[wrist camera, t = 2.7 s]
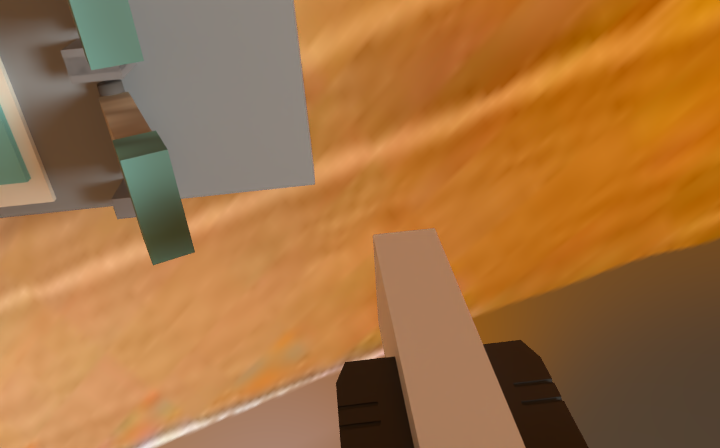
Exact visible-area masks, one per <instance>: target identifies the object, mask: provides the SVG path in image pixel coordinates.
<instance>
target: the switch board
mask: <svg viewBox="0 0 720 448" xmlns="http://www.w3.org/2000/svg"><path fill="white" fill-rule="evenodd" d="M128 2H129V6H130V10H131V13H132V17H133V21H134V25H135V29H136V32H137V36H138V40H139V44H140V47H141V51H142V55H143V59H144V61H141V62H135V63H130V64H124V65H118V66H113V67H107V68H101V69H96V70H91V68H90V66H89V64H88V61H87V59H86V57H85V54H84V50H83V47H82V44H81V41H80V38H79V35H78V32H77V28H76V26H75V24H74V21H73V17H72V14H71V11H70V8H69V5H68V2H67V0H0V218H4V217H14V216H23V215H32V214H42V213H51V212H61V211H70V210H79V209H89V208H98V207H108V206H113V207H114V210H115V213H116V216H117V219H123V218H132V217H136V214H135V211H134V208H133V205H132V201H131V198H130V195H129V192H128V189H127V186H126V183H125V180H124V177H123V174H122V171H121V168H120V165H119V162H118V159H117V156H116V153H115V149H114V146H113V143H112V140H111V137H110V134H109V131H108V127H107V124H106V121H105V118H104V115H103V112H102V109H101V105H100V102H99V99H98V97H100V94H99V91H98V88H97V84H98V83H99V82H102V81H106V80H117V79H119V80H122V83H123V87H124V90H125V92H129V94H130V95H131V97H132V99H133V100H134V102H135V104H136V105H137V107H138V109H139V111H140V112H141V114H142V116H143V117H144V119H145V121H146V122H147V124H148V126H149V127H150V129H151V131H156V132H157V133H158V135H159V136H160V138H161V140H162V141H163V143H164V145H165V146H166V148H167V149H168V153H169V157H170V161H171V164H172V168H173V172H174V176H175V179H176V183H177V187H178V191H179V194H180V198H181V199H183V198H192V197H202V196H211V195H220V194H230V193H239V192H249V191H258V190H267V189H277V188H286V187H296V186H305V185H314V184H315V176H314V165H313V156H312V148H311V140H310V132H309V123H308V115H307V107H306V99H305V90H304V82H303V74H302V65H301V57H300V49H299V41H298V32H297V24H296V16H295V8H294V0H128Z"/></svg>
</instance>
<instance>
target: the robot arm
mask: <svg viewBox="0 0 720 448" xmlns="http://www.w3.org/2000/svg"><path fill="white" fill-rule="evenodd" d="M373 244H374V260H375V275H376V290H377V306H378V321H379V327H380V332H381V338H382V343H383V348H384V354H385V358H377V359H369V360H360V361H352V362H345V364H344V366H343V368H342V371H341V373H340V375H339V378H338V380H337V382H336V387H337V402H338V414H339V427H340V441H341V448H588V446H587V444H586V442H585V440H584V438H583V436H582V434H581V433H580V431H579V429H578V427H577V425H576V423H575V421H574V419H573V417H572V416H571V414H570V412H569V410H568V408H567V406H566V404H565V402H564V401H562V399H561V395H560V393H559V391H558V389H557V387H556V385H555V384H554V383H553V382H552V378H551V376H550V374H549V372H548V370H547V369H546V367H545V365H544V363H543V361H542V359H541V357H540V356H538V355H537V354H536V353H535V352H534V351H533V350H531V349H530V348H529V347H528V346H527V345H526V344H525V343H523V342H522V341H521V340H516V341H508V342H499V343H491V344H482V341H481V339H480V337H479V334H478V332H477V329H476V327H475V325H474V322H473V320H472V317H471V315H470V312H469V310H468V308H467V305H466V303H465V300H464V298H463V296H462V293H461V291H460V288H459V286H458V284H457V281H456V279H455V276H454V274H453V271H452V269H451V267H450V264H449V262H448V259H447V257H446V255H445V252H444V250H443V247H442V245H441V243H440V240H439V238H438V235H437V233H436V231H435V228H432V229H423V230H413V231H404V232H395V233H385V234H376V235H373Z"/></svg>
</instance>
